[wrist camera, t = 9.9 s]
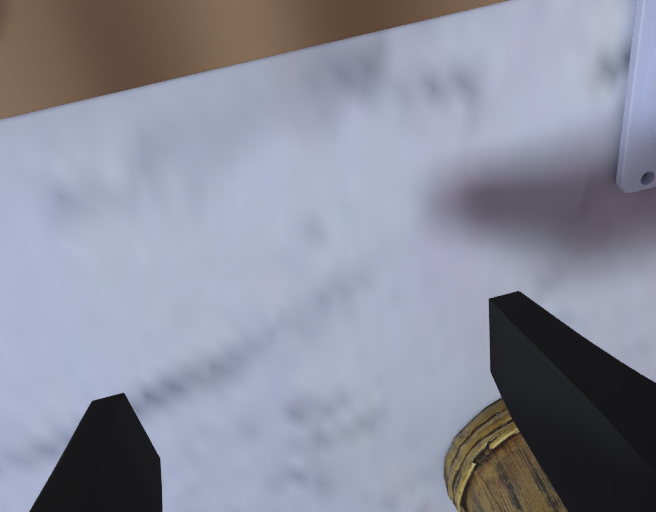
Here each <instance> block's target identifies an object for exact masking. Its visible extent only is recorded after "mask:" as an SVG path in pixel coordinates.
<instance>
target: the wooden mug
mask: <svg viewBox="0 0 656 512" xmlns="http://www.w3.org/2000/svg"><path fill="white" fill-rule="evenodd" d="M444 479H445V484H446V488H447V493H448V496H449V497H450V499H451V500H452V502H453V504H454V505H455V507H456V508H457V510H458V512H568V511H567V509H566V508H565V506H564V504H563V503H562V501H561V499H560V498H559V496H558V494H557V493H556V491H555V489H554V488H553V486H552V484H551V483H550V481H549V480H548V478H547V476H546V475H545V473H544V471H543V470H542V468H541V466H540V465H539V463H538V461H537V460H536V458H535V456H534V455H533V453H532V451H531V450H530V448H529V446H528V445H527V443H526V441H525V440H524V438H523V436H522V435H521V433H520V431H519V430H518V428H517V426H516V425H515V423H514V421H513V420H512V418H511V416H510V414H509V412H508V409H507V407H506V405H505V403H504V401H503V399H500V400H499V401H497V402H495V403H494V404H492V405H490V406H489V407H487V408H486V409H484V410H483V411H482V412H481V413H480V414H479V415H478V416H477V417H475V418H474V419H473V420H472V421H471V422H470V423H469V424H468V425H467V426H466V427H465V428H464V429H463V430H462V431H461V432H460V433H459V434H458V435H457V436H456V437H455V438H454V440H453V442H452V444H451V446H450V448H449V450H448V452H447V454H446V456H445V461H444Z"/></svg>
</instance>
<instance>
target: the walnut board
mask: <svg viewBox="0 0 656 512" xmlns="http://www.w3.org/2000/svg"><path fill="white" fill-rule="evenodd" d="M504 1H508V0H0V119H3V118H8V117H12V116H16V115H21V114H25V113H29V112H33V111H38V110H42V109H46V108H50V107H55V106H59V105H63V104H68V103H72V102H76V101H80V100H85V99H89V98H93V97H98V96H102V95H106V94H110V93H115V92H119V91H123V90H127V89H132V88H136V87H140V86H145V85H149V84H153V83H157V82H162V81H166V80H170V79H175V78H179V77H183V76H187V75H192V74H196V73H200V72H205V71H209V70H213V69H217V68H222V67H226V66H230V65H234V64H239V63H243V62H247V61H252V60H256V59H260V58H264V57H269V56H273V55H277V54H282V53H286V52H290V51H294V50H299V49H303V48H307V47H311V46H316V45H320V44H324V43H329V42H333V41H337V40H341V39H346V38H350V37H354V36H359V35H363V34H367V33H371V32H376V31H380V30H384V29H388V28H393V27H397V26H401V25H406V24H410V23H414V22H418V21H423V20H427V19H431V18H436V17H440V16H444V15H448V14H453V13H457V12H461V11H466V10H470V9H474V8H478V7H483V6H487V5H491V4H495V3H500V2H504Z"/></svg>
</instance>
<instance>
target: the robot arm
mask: <svg viewBox="0 0 656 512" xmlns="http://www.w3.org/2000/svg"><path fill="white" fill-rule="evenodd" d="M647 172H648V173H647ZM645 173H647V175H646V176H645V177H644V178H643V179H641V178H642V176H643V175H644V174H645ZM616 185H617V187H618V188H619V189H620V190H622V191H623V192H625V193H634V192H638V191H642V190H646V189H650V188H654V187H656V0H637V5H636V14H635V22H634V30H633V39H632V47H631V56H630V64H629V73H628V81H627V90H626V98H625V107H624V115H623V124H622V132H621V140H620V149H619V157H618V166H617V174H616ZM489 329H490V370H491V374H492V376H493V378H494V381H495V383H496V385H497V387H498V390H499V392H500V394H501V397H502V399H503V401H504V403H505V405H506V407H507V409H508V412H509V414H510V416H511V418H512V420H513V421H514V423H515V425H516V426H517V428H518V430H519V431H520V433H521V435H522V436H523V438H524V440H525V441H526V443H527V445H528V446H529V448H530V450H531V451H532V453H533V455H534V456H535V458H536V460H537V461H538V463H539V465H540V466H541V468H542V470H543V471H544V473H545V475H546V476H547V478H548V480H549V481H550V483H551V484H552V486H553V488H554V489H555V491H556V493H557V494H558V496H559V498H560V499H561V501H562V503H563V504H564V506H565V508H566V509H567V511H568V512H656V383H655V382H653V381H651V380H650V379H648V378H646V377H645V376H643V375H641V374H640V373H638V372H636V371H635V370H633V369H632V368H630V367H628V366H627V365H625V364H624V363H622V362H620V361H619V360H617V359H616V358H614V357H613V356H611V355H610V354H608V353H607V352H605V351H604V350H602V349H601V348H599V347H598V346H596V345H595V344H593V343H592V342H590V341H589V340H587V339H586V338H584V337H583V336H581V335H580V334H578V333H577V332H576V331H574V330H573V329H571V328H570V327H569V326H567V325H566V324H564V323H563V322H561V321H560V320H559V319H557V318H556V317H554V316H553V315H552V314H550V313H549V312H548V311H546V310H545V309H543V308H542V307H541V306H539V305H538V304H537V303H535V302H534V301H532V300H531V299H530V298H528V297H527V296H525V295H524V294H523V293H521V292H519V291H517V292H513V293H509V294H505V295H501V296H498V297H494V298H490V299H489ZM29 512H162V482H161V464H160V457H159V455H158V454H157V452H156V450H155V448H154V446H153V445H152V443H151V441H150V439H149V437H148V435H147V434H146V432H145V430H144V428H143V426H142V425H141V423H140V421H139V419H138V417H137V415H136V414H135V412H134V410H133V408H132V406H131V405H130V403H129V401H128V399H127V397H126V395H125V394H124V393H121V394H117V395H113V396H110V397H106V398H102V399H98V400H94V401H92V402H91V404H90V405H89V407H88V409H87V411H86V412H85V414H84V416H83V418H82V420H81V421H80V423H79V425H78V427H77V429H76V430H75V432H74V434H73V436H72V438H71V440H70V441H69V443H68V445H67V447H66V449H65V451H64V452H63V454H62V456H61V458H60V459H59V461H58V463H57V465H56V467H55V468H54V470H53V472H52V474H51V475H50V477H49V479H48V481H47V482H46V484H45V486H44V487H43V489H42V491H41V493H40V494H39V496H38V498H37V499H36V501H35V503H34V505H33V506H32V508H31V510H30V511H29Z"/></svg>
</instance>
